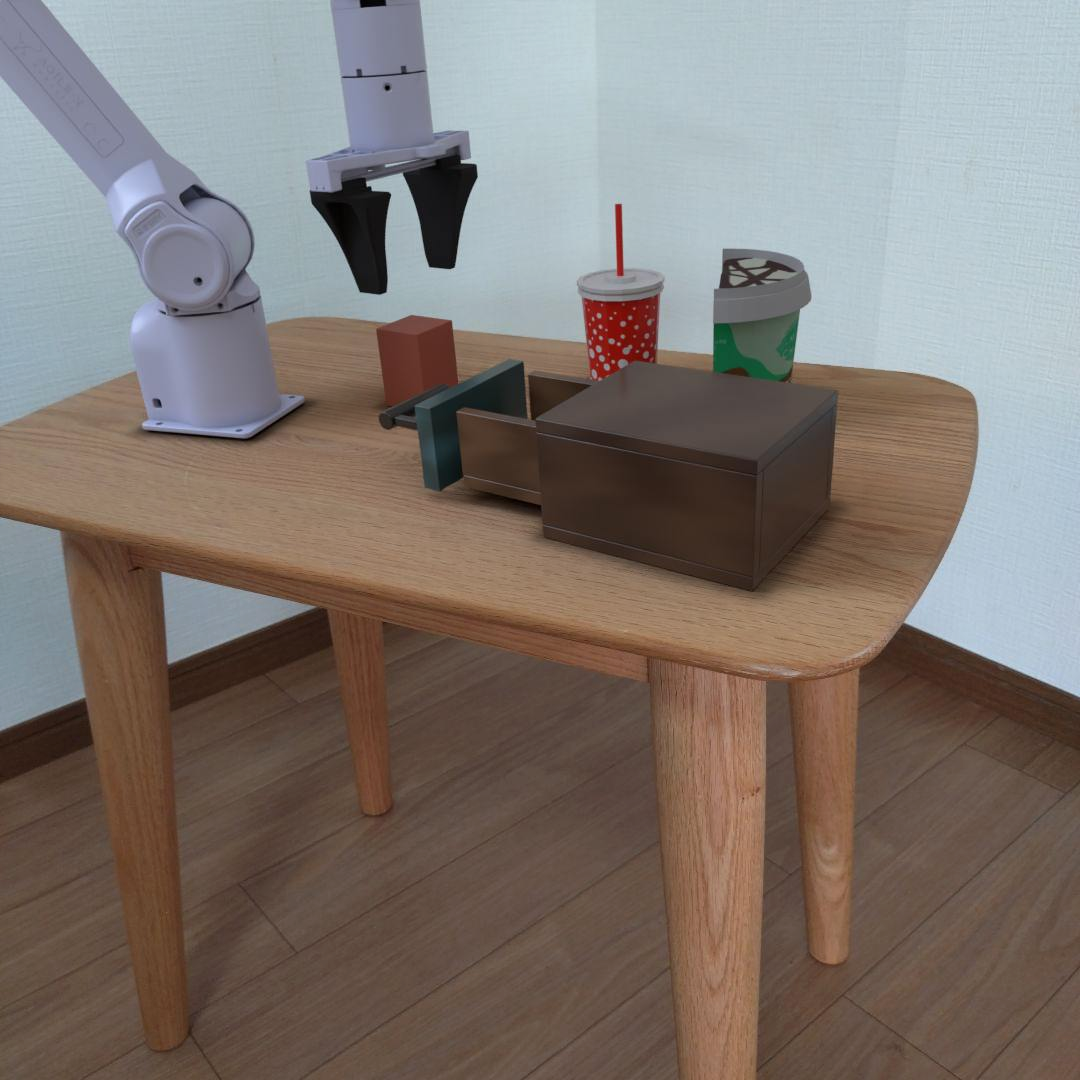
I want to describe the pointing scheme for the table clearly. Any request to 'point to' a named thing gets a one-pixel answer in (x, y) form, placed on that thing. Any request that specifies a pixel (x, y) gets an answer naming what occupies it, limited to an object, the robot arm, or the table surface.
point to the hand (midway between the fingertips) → (408, 279)
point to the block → (416, 356)
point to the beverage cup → (620, 313)
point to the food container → (758, 313)
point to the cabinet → (688, 469)
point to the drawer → (484, 428)
